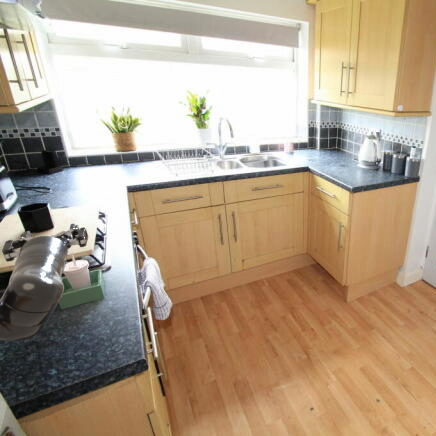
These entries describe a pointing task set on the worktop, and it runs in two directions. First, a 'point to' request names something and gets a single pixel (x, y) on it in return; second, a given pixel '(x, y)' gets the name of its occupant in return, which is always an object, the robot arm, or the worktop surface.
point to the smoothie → (77, 273)
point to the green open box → (83, 291)
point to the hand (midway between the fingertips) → (51, 230)
